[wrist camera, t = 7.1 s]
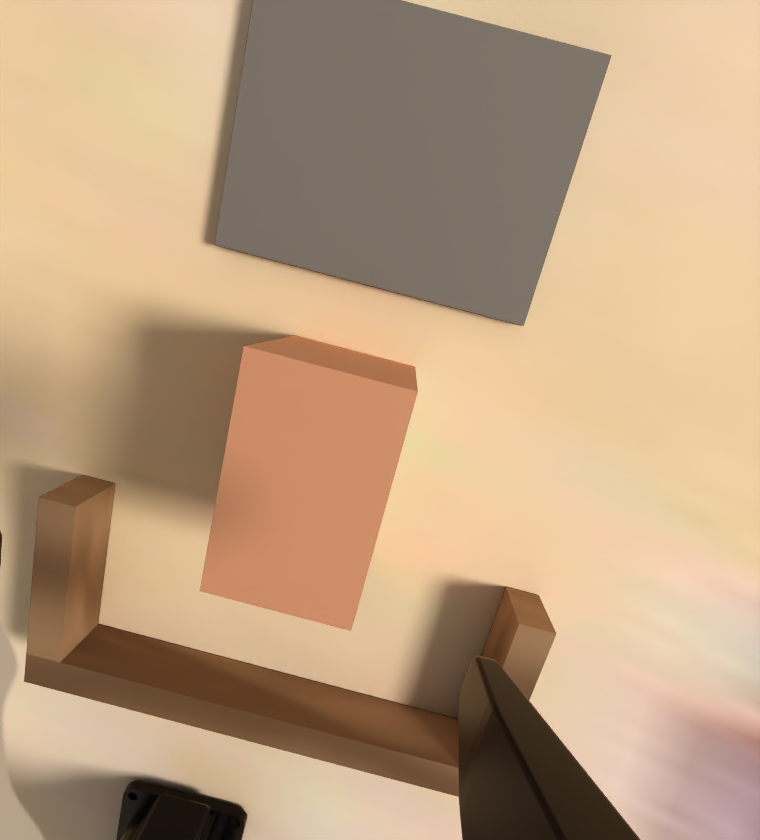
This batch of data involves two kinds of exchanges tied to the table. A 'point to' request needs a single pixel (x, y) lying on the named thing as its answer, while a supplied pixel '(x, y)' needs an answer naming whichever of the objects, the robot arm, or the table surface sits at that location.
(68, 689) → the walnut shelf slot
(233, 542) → the terracotta blank
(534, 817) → the robot arm
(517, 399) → the table surface
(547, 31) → the table surface
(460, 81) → the charcoal mat
